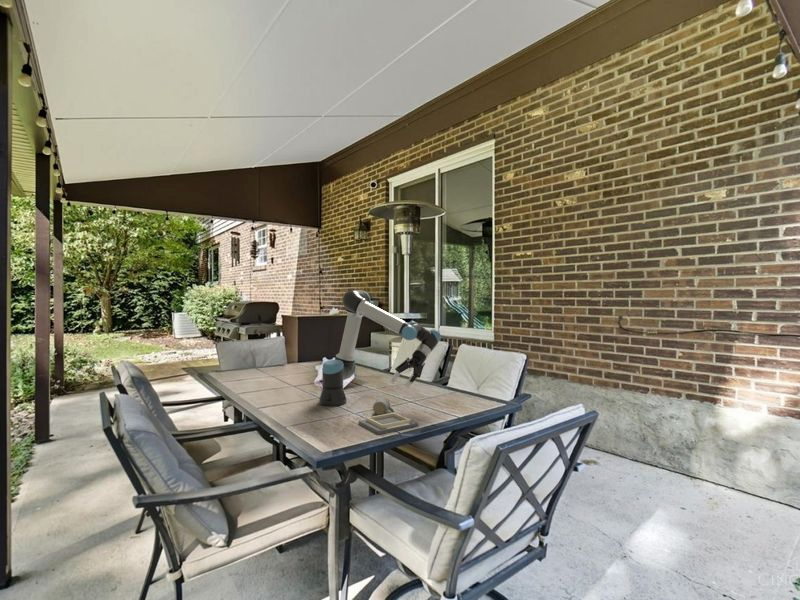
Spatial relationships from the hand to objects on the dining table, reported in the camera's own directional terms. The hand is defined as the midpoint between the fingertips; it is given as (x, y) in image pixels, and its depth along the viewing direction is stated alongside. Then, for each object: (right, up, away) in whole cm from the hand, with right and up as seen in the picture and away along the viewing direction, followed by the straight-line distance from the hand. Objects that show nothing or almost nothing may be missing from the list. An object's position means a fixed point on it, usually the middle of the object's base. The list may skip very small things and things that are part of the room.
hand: (398, 384), depth 224 cm
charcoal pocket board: (-5, -14, -25) cm, 29 cm away
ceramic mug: (-8, -14, -5) cm, 17 cm away
